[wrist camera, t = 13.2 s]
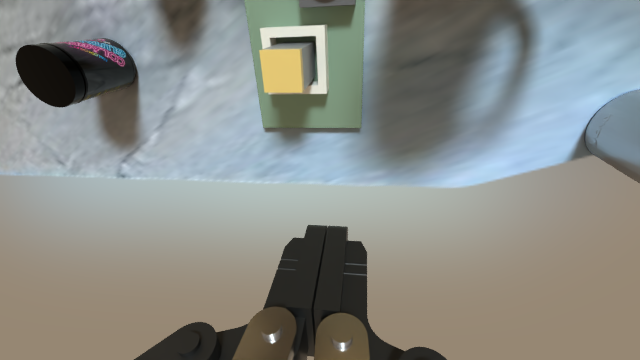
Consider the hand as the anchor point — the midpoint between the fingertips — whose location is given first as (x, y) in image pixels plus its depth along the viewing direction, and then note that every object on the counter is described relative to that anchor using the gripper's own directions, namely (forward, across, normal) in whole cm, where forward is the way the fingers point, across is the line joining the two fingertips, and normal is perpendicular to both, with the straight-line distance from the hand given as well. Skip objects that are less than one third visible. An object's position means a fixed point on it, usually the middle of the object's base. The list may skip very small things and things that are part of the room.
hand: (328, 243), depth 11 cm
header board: (+31, +6, -5) cm, 32 cm away
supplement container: (+31, +34, -3) cm, 46 cm away
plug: (+30, +7, -3) cm, 31 cm away
